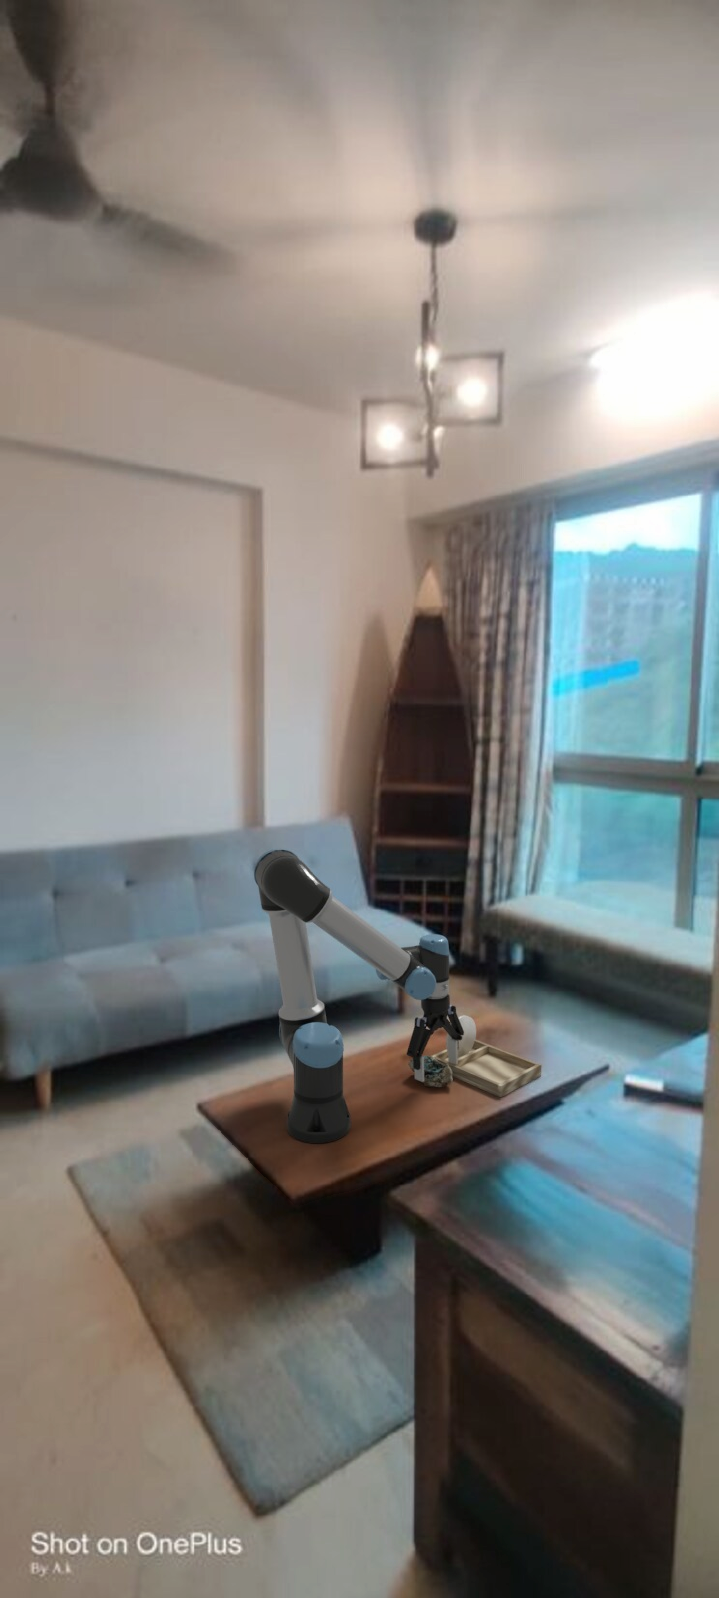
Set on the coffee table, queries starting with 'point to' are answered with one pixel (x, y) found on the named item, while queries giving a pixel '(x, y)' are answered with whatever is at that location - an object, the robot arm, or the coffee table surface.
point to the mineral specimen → (435, 1072)
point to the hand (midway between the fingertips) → (436, 1071)
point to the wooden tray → (492, 1068)
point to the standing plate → (465, 1035)
